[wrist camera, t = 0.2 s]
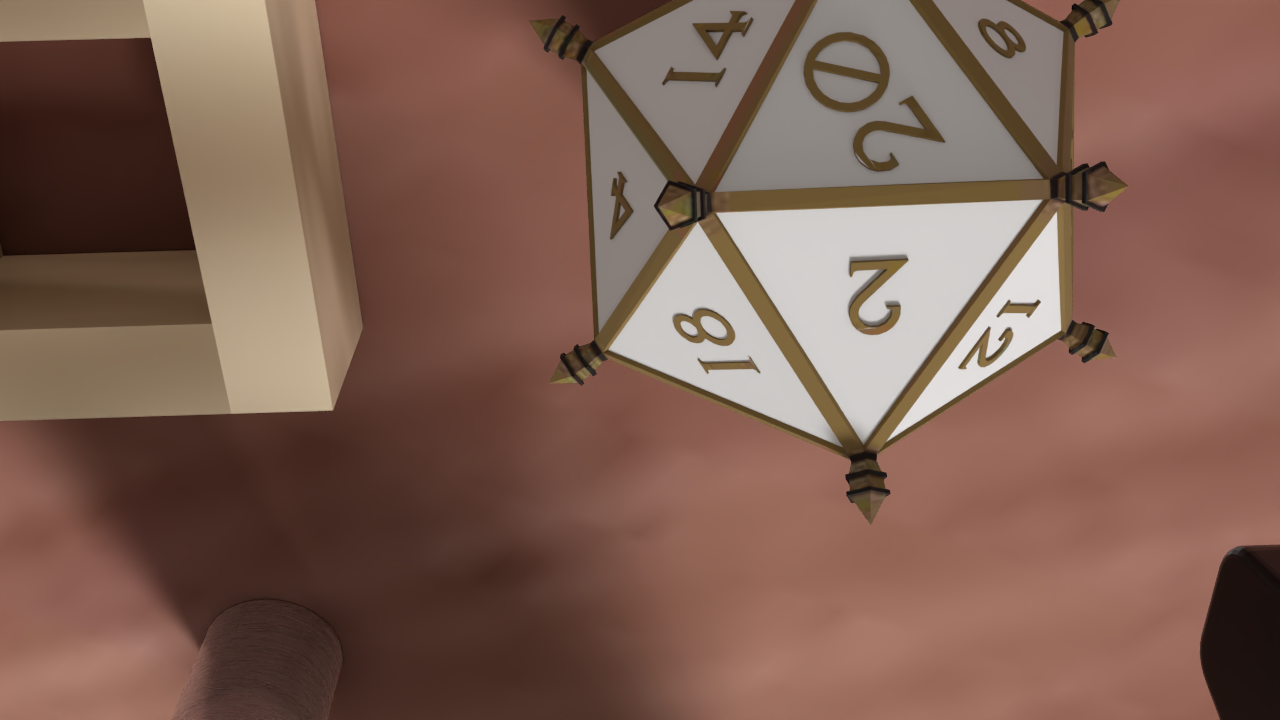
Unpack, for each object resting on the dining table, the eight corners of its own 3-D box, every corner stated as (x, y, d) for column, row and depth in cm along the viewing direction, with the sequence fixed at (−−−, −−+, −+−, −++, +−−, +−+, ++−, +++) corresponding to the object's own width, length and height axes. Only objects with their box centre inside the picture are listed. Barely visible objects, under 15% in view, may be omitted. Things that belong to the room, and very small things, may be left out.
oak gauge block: (362, 327, 23) (333, 410, 20) (-63, 340, 23) (-148, 425, 20) (297, -122, 19) (249, -91, 17) (-216, -110, 19) (-345, -76, 16)
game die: (667, 47, 24) (290, -9, 16) (1091, -166, 20) (881, -399, 11) (805, 472, 24) (498, 645, 16) (1265, 356, 20) (1182, 511, 11)
